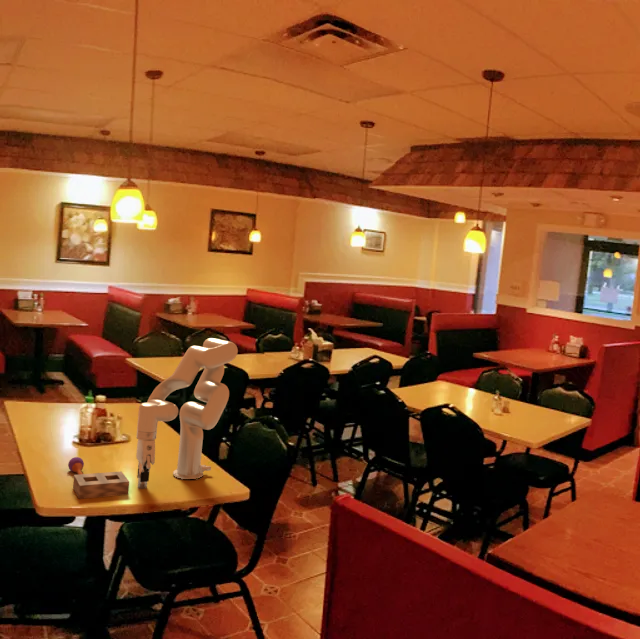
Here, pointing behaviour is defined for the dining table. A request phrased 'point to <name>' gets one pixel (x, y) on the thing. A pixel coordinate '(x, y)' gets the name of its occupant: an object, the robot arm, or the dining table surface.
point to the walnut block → (100, 484)
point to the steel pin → (140, 484)
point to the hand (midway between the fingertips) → (142, 479)
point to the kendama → (76, 465)
